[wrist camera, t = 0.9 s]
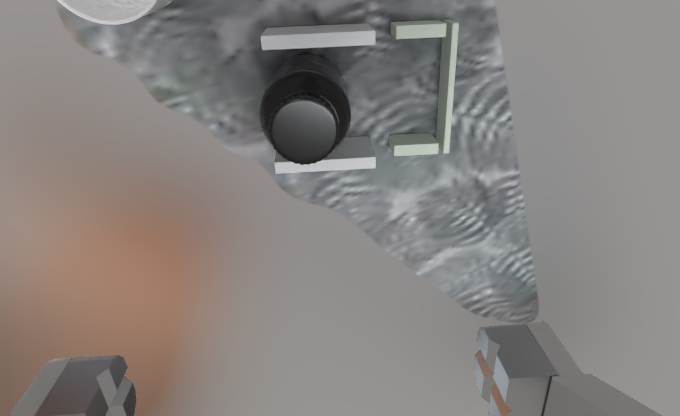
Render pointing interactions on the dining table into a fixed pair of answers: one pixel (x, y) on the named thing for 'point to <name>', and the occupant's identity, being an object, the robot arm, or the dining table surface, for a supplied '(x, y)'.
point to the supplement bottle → (305, 109)
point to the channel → (352, 148)
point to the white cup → (113, 9)
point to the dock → (449, 34)
